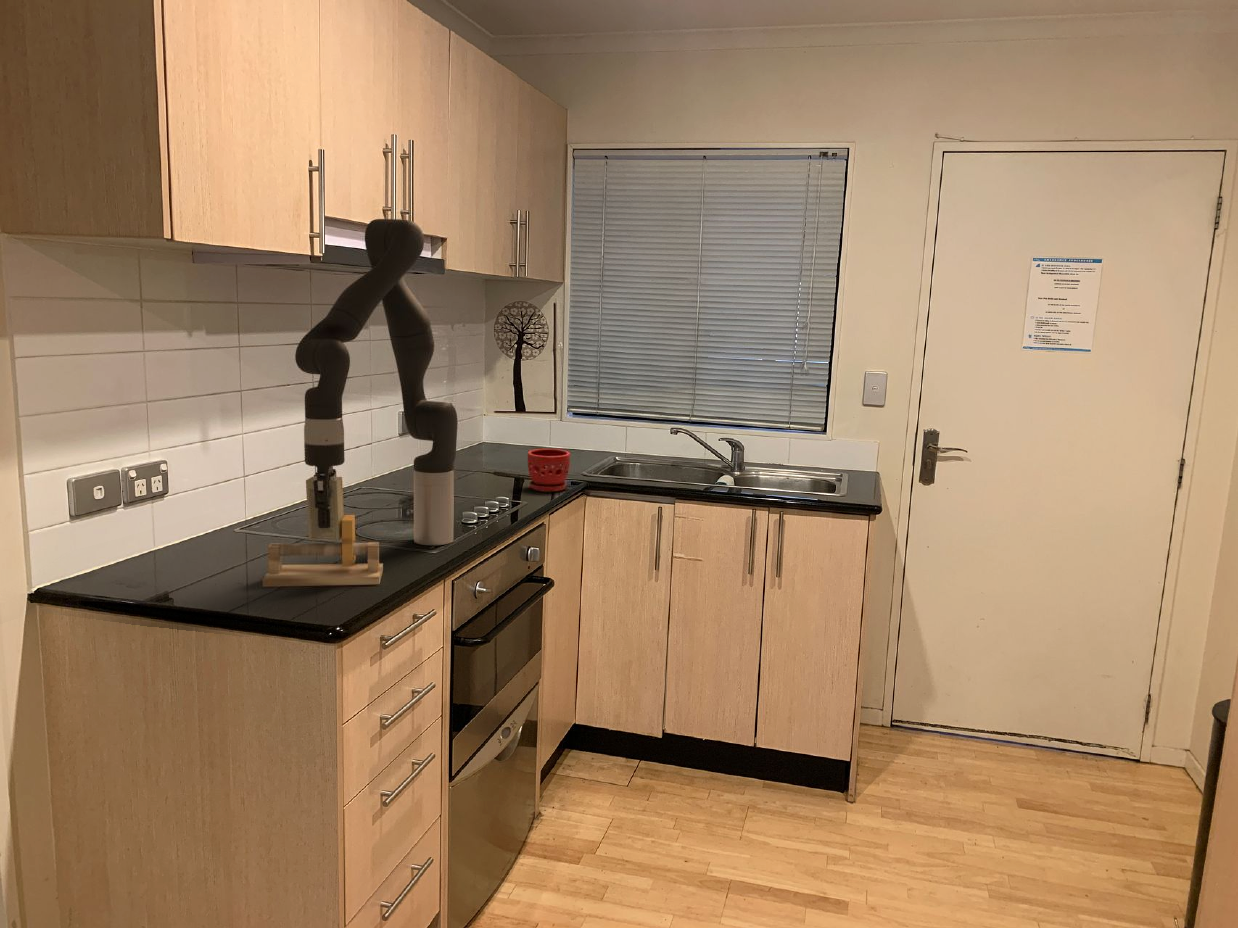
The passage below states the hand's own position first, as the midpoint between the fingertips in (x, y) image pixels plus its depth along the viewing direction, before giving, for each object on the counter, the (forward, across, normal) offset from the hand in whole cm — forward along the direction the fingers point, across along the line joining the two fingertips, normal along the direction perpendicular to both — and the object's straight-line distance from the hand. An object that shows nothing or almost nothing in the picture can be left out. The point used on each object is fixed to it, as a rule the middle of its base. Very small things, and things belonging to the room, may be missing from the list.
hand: (326, 524), depth 182 cm
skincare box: (+3, 0, 0) cm, 3 cm away
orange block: (+8, 0, -4) cm, 9 cm away
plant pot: (+12, +92, -54) cm, 108 cm away
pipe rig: (+11, 0, 0) cm, 11 cm away
